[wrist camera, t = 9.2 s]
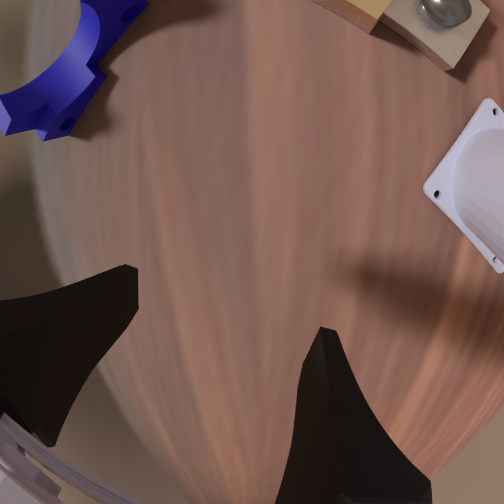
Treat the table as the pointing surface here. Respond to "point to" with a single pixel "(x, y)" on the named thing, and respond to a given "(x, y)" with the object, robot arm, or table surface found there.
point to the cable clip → (69, 73)
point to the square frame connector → (419, 23)
